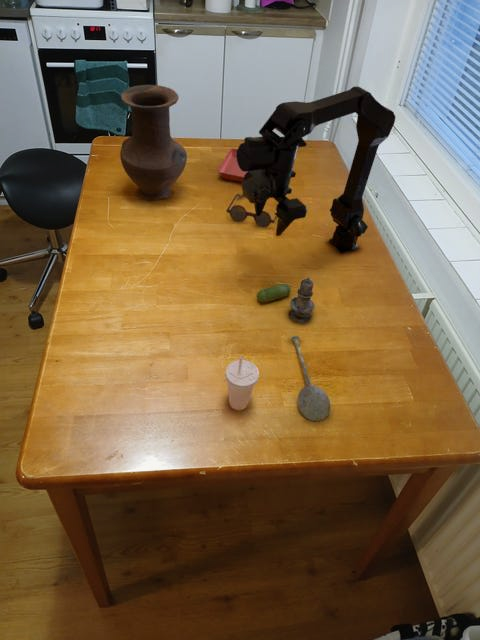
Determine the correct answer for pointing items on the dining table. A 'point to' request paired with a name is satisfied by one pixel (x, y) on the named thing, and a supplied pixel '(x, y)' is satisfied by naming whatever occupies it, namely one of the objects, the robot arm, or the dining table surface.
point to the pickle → (273, 292)
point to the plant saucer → (231, 167)
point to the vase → (152, 142)
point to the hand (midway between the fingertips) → (267, 225)
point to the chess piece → (302, 302)
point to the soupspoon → (311, 395)
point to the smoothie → (241, 382)
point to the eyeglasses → (249, 214)
